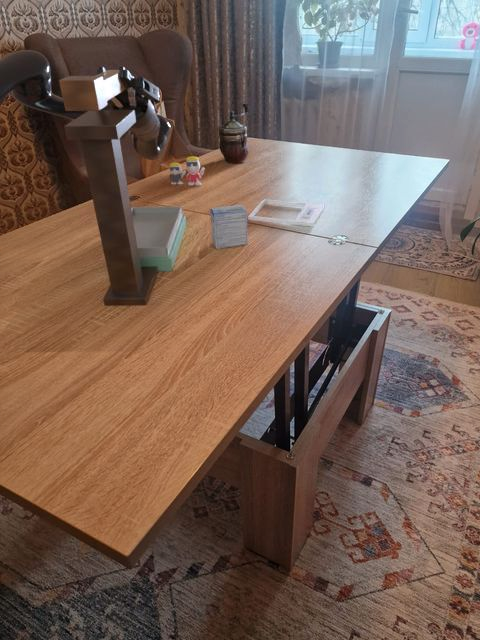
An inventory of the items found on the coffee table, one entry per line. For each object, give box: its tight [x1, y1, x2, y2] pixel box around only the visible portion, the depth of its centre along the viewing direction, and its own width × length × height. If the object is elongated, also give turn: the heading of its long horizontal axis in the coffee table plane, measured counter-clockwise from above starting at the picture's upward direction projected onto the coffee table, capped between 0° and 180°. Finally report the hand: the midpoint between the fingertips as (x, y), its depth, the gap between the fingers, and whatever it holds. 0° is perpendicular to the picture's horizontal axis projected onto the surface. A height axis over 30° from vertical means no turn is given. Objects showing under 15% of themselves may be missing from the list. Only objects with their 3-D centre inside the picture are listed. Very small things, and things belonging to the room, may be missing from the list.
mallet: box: [58, 69, 127, 111], centre depth 79 cm, size 5×24×4 cm, turn 1°
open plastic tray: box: [104, 206, 187, 272], centre depth 114 cm, size 14×27×5 cm, turn 1°
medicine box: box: [209, 204, 249, 250], centre depth 114 cm, size 8×4×9 cm, turn 108°
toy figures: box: [168, 156, 206, 187], centre depth 154 cm, size 12×4×8 cm, turn 79°
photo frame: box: [247, 198, 326, 228], centre depth 132 cm, size 15×1×18 cm
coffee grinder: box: [218, 103, 250, 164], centre depth 175 cm, size 13×15×18 cm
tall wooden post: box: [63, 110, 159, 307], centre depth 89 cm, size 8×14×32 cm, turn 1°
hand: (111, 72), depth 85 cm, fingers closed on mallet, 3 cm apart
